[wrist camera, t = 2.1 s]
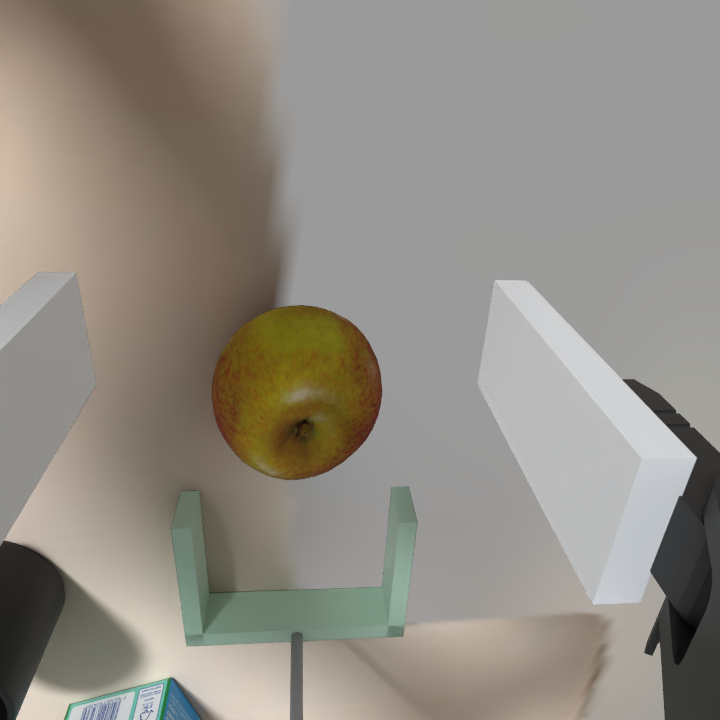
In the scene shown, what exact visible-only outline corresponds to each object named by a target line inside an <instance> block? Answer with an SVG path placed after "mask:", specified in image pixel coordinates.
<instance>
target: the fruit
mask: <svg viewBox="0 0 720 720" xmlns="http://www.w3.org/2000/svg"><path fill="white" fill-rule="evenodd" d="M381 397H382V384H381V374H380V369H379V365H378V362H377V358H376V356H375V354H374V352H373V350H372V348H371V346H370V344H369V342H368V341H367V339H366V338H365V336H364V335H363V334H362V333H361V332H360V330H359V329H358V328H357V327H356V326H355V325H353V324H352V323H351V322H350V321H349V320H347V319H345V318H343V317H341V316H339V315H338V314H336V313H334V312H331V311H328V310H326V309H322V308H318V307H313V306H304V305H299V306H287V307H280V308H276V309H272V310H269V311H267V312H265V313H263V314H261V315H259V316H257V317H256V318H254V319H253V320H251V321H249V322H248V323H246V324H245V325H244V326H243V327H241V328H240V329H239V330H238V331H237V332H236V333H235V334H234V335H233V336H232V337H231V339H230V340H229V342H228V343H227V345H226V346H225V348H224V349H223V351H222V352H221V354H220V357H219V359H218V362H217V364H216V368H215V372H214V376H213V382H212V403H213V410H214V416H215V419H216V422H217V425H218V428H219V430H220V432H221V433H222V435H223V437H224V439H225V440H226V442H227V443H228V445H229V446H230V448H231V449H232V450H233V451H234V452H235V454H236V455H237V456H238V457H239V458H240V459H241V460H242V461H243V462H244V463H246V464H247V465H249V466H251V467H252V468H254V469H256V470H257V471H259V472H261V473H263V474H265V475H268V476H271V477H274V478H279V479H284V480H299V479H305V478H310V477H315V476H317V475H320V474H323V473H325V472H327V471H329V470H331V469H333V468H334V467H336V466H338V465H339V464H341V463H342V462H344V461H345V460H346V459H347V458H348V457H349V456H351V455H352V454H353V453H354V452H355V451H356V450H357V449H358V448H359V447H360V446H361V445H362V444H363V443H364V442H365V440H366V439H367V437H368V435H369V434H370V432H371V430H372V429H373V427H374V424H375V422H376V419H377V417H378V414H379V409H380V405H381Z"/></svg>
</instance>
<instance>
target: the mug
mask: <svg viewBox="0 0 720 720" xmlns="http://www.w3.org/2000/svg"><path fill="white" fill-rule="evenodd" d="M64 600H65V592H64V586H63V582H62V580H61V577H60V576H59V574H58V572H57V571H56V570H55V569H54V567H53V566H52V565H51V564H50V563H49V562H47V561H46V560H45V559H44V558H42V557H41V556H39V555H38V554H36V553H35V552H33V551H31V550H29V549H27V548H24V547H22V546H19V545H16V544H13V543H9V542H5V541H3V542H2V544H1V546H0V720H16V717H17V715H18V713H19V710H20V708H21V705H22V703H23V701H24V698H25V696H26V694H27V691H28V689H29V686H30V684H31V682H32V679H33V677H34V675H35V672H36V670H37V667H38V665H39V663H40V660H41V658H42V655H43V653H44V651H45V648H46V646H47V644H48V641H49V639H50V636H51V634H52V632H53V629H54V627H55V625H56V622H57V620H58V617H59V615H60V613H61V610H62V608H63V605H64Z"/></svg>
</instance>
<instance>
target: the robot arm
mask: <svg viewBox="0 0 720 720" xmlns="http://www.w3.org/2000/svg"><path fill="white" fill-rule="evenodd" d="M477 385H478V386H479V388H480V390H481V392H482V394H483V396H484V398H485V400H486V402H487V404H488V406H489V408H490V409H491V411H492V413H493V415H494V417H495V419H496V421H497V423H498V425H499V427H500V429H501V431H502V432H503V434H504V436H505V438H506V440H507V442H508V444H509V446H510V448H511V450H512V452H513V454H514V456H515V457H516V459H517V461H518V463H519V465H520V467H521V469H522V471H523V473H524V475H525V477H526V478H527V480H528V482H529V484H530V486H531V488H532V490H533V492H534V494H535V496H536V498H537V500H538V501H539V503H540V505H541V507H542V509H543V511H544V513H545V515H546V517H547V519H548V521H549V523H550V524H551V526H552V528H553V530H554V532H555V534H556V536H557V538H558V540H559V542H560V544H561V545H562V548H563V549H564V551H565V553H566V555H567V557H568V559H569V561H570V563H571V565H572V567H573V568H574V571H575V573H576V574H577V576H578V578H579V580H580V582H581V584H582V586H583V588H584V590H585V591H586V594H587V596H588V597H589V599H590V601H591V603H592V605H603V604H626V603H640V602H641V599H642V597H643V594H644V592H645V589H646V587H647V584H648V582H649V579H650V576H651V574H652V575H653V576H654V578H655V579H656V581H657V583H658V584H659V586H660V587H661V588H662V590H663V592H664V593H665V595H666V598H665V600H664V603H663V605H662V607H661V610H660V612H659V614H658V617H657V619H656V622H655V624H654V626H653V629H652V631H651V634H650V636H649V638H648V641H647V644H646V648H645V653H646V654H649V655H653V653H654V650H655V648H656V646H657V644H658V643H659V642H660V647H661V663H662V679H663V695H664V710H665V720H720V453H719V452H718V451H717V450H716V449H715V448H714V447H713V446H712V445H711V444H710V443H709V442H708V441H707V440H706V439H705V438H704V437H703V436H702V435H701V434H700V433H699V432H698V431H697V430H696V429H695V428H690V423H689V422H688V421H686V420H685V419H684V418H683V417H682V416H681V415H680V414H676V410H675V409H674V408H673V407H672V406H671V405H670V404H669V403H668V402H667V401H666V400H665V399H664V398H663V397H662V396H661V395H660V394H659V393H657V392H655V391H653V390H652V389H650V388H648V387H646V386H645V385H642V384H641V383H639V382H638V381H636V380H634V379H626V380H625V379H621V378H620V377H619V376H618V375H617V374H616V373H615V372H614V371H613V370H612V369H611V368H610V367H609V366H608V365H607V364H606V363H605V361H603V359H602V358H601V357H600V356H599V355H598V354H597V353H596V352H595V351H594V350H593V349H592V348H591V347H590V346H589V345H588V344H587V343H586V342H585V341H584V340H583V339H582V337H581V336H580V335H579V334H578V333H577V332H576V331H575V330H574V329H573V328H572V327H571V326H570V325H569V324H568V323H567V322H566V321H565V320H564V319H563V318H562V317H561V316H560V315H559V314H558V312H557V311H556V310H554V308H553V307H552V306H551V305H550V304H549V303H548V302H547V301H546V300H545V299H544V298H543V297H542V296H541V295H540V294H539V293H538V292H537V291H536V290H535V289H534V288H533V286H532V285H531V284H530V283H528V281H519V280H495V281H494V286H493V293H492V299H491V305H490V311H489V317H488V323H487V329H486V335H485V341H484V347H483V353H482V359H481V365H480V371H479V377H478V383H477ZM95 386H96V379H95V374H94V368H93V363H92V357H91V352H90V346H89V341H88V335H87V330H86V324H85V319H84V313H83V308H82V302H81V297H80V291H79V285H78V280H77V274H76V273H62V272H38V273H37V274H36V275H34V276H33V277H32V278H31V279H30V280H29V281H28V282H26V283H25V284H24V285H23V286H22V287H21V288H20V289H18V290H17V291H16V292H15V293H14V294H13V295H12V296H10V297H9V298H8V299H7V300H6V301H5V302H4V303H2V304H1V305H0V546H1V544H2V542H3V541H4V539H5V537H6V536H7V534H8V532H9V531H10V529H11V527H12V526H13V524H14V522H15V521H16V519H17V517H18V516H19V514H20V512H21V511H22V509H23V507H24V505H25V504H26V502H27V500H28V499H29V497H30V495H31V494H32V492H33V490H34V489H35V487H36V485H37V484H38V482H39V480H40V479H41V477H42V475H43V474H44V472H45V470H46V469H47V467H48V465H49V464H50V462H51V460H52V458H53V457H54V455H55V453H56V452H57V450H58V448H59V447H60V445H61V443H62V442H63V440H64V438H65V437H66V435H67V433H68V432H69V430H70V428H71V427H72V425H73V423H74V422H75V420H76V418H77V417H78V415H79V413H80V412H81V410H82V408H83V406H84V405H85V403H86V401H87V400H88V398H89V396H90V395H91V393H92V391H93V390H94V388H95Z"/></svg>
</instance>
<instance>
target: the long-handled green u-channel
mask: <svg viewBox="0 0 720 720" xmlns="http://www.w3.org/2000/svg"><path fill="white" fill-rule="evenodd" d="M416 530H417V518H416V514H415V510H414V506H413V502H412V498H411V494H410V490H409V487H392V488H391V499H390V509H389V519H388V530H387V540H386V541H387V542H386V551H385V561H384V572H383V583H382V587H364V588H336V589H309V590H282V591H256V592H229V593H209V583H208V573H207V563H206V553H205V543H204V532H203V522H202V512H201V502H200V492H199V491H181V493H180V497H179V501H178V505H177V508H176V512H175V516H174V520H173V523H172V527H171V533H172V540H173V548H174V555H175V563H176V570H177V578H178V586H179V593H180V601H181V608H182V616H183V623H184V631H185V639H186V646H208V645H230V644H251V643H273V642H291V685H290V720H303V641H316V640H337V639H359V638H380V637H402V636H403V634H404V626H405V618H406V610H407V602H408V594H409V586H410V577H411V569H412V562H413V554H414V546H415V538H416Z"/></svg>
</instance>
